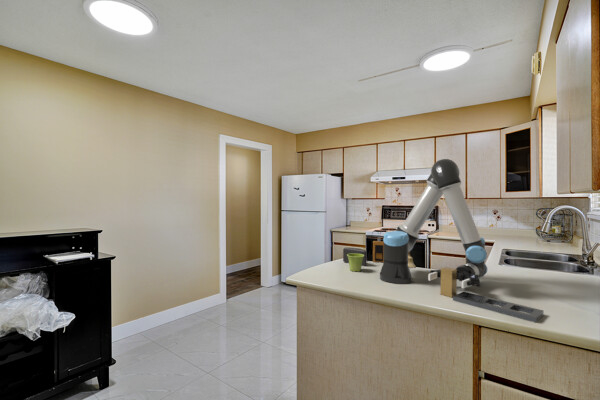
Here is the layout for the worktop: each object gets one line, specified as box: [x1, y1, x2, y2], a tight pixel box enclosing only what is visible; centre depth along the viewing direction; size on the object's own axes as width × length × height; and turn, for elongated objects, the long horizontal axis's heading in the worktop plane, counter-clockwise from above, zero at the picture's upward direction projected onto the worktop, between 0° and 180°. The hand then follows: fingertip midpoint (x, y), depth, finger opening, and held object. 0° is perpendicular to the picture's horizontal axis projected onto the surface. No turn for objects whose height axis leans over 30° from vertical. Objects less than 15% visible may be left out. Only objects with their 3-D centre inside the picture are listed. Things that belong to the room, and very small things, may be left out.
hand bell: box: [408, 251, 416, 269], centre depth 173 cm, size 8×8×16 cm
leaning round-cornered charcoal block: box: [342, 247, 368, 267], centre depth 178 cm, size 16×5×9 cm, turn 48°
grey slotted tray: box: [452, 291, 544, 323], centre depth 108 cm, size 26×10×2 cm, turn 39°
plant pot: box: [347, 253, 364, 273], centre depth 161 cm, size 9×9×9 cm
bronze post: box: [440, 266, 458, 299], centre depth 121 cm, size 4×4×11 cm
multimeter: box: [367, 230, 387, 263], centre depth 188 cm, size 15×10×20 cm
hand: (445, 280), depth 119 cm, fingers open, 13 cm apart
